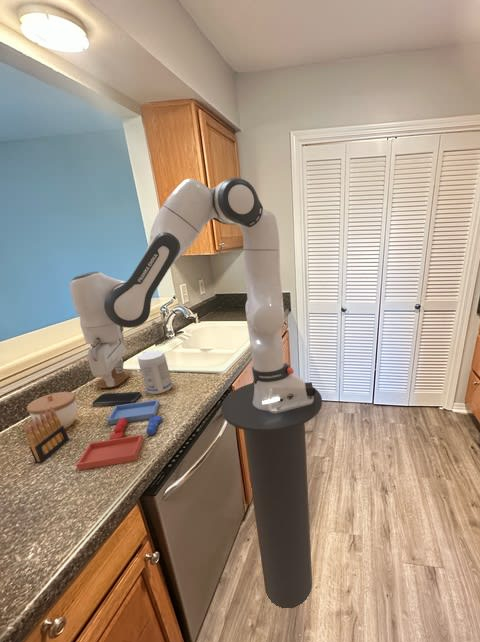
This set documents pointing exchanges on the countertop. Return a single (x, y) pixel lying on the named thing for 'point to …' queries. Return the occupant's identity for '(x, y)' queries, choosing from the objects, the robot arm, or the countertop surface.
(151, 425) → the blue lumpy bar
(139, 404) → the blue tray
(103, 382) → the boot
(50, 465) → the countertop surface
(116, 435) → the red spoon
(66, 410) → the lidded bowl
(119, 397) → the phone
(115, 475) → the countertop surface
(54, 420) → the ammunition clip
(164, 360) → the supplement tub
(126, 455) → the red tray
